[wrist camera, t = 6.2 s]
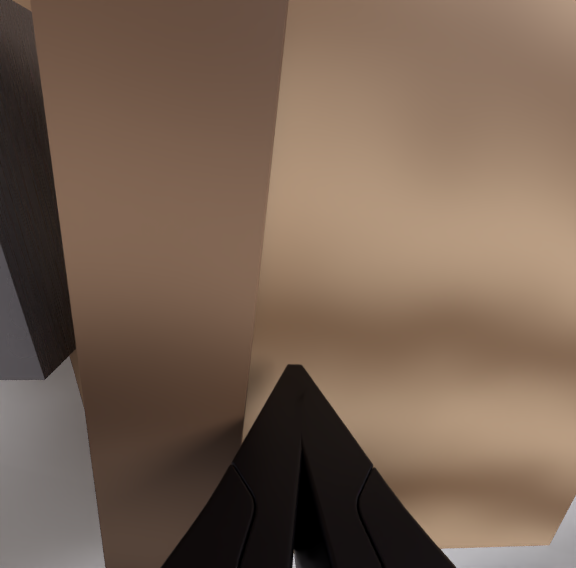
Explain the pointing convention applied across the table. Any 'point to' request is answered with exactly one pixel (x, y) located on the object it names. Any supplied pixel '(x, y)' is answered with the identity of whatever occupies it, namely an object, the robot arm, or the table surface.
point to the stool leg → (161, 239)
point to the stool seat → (383, 247)
